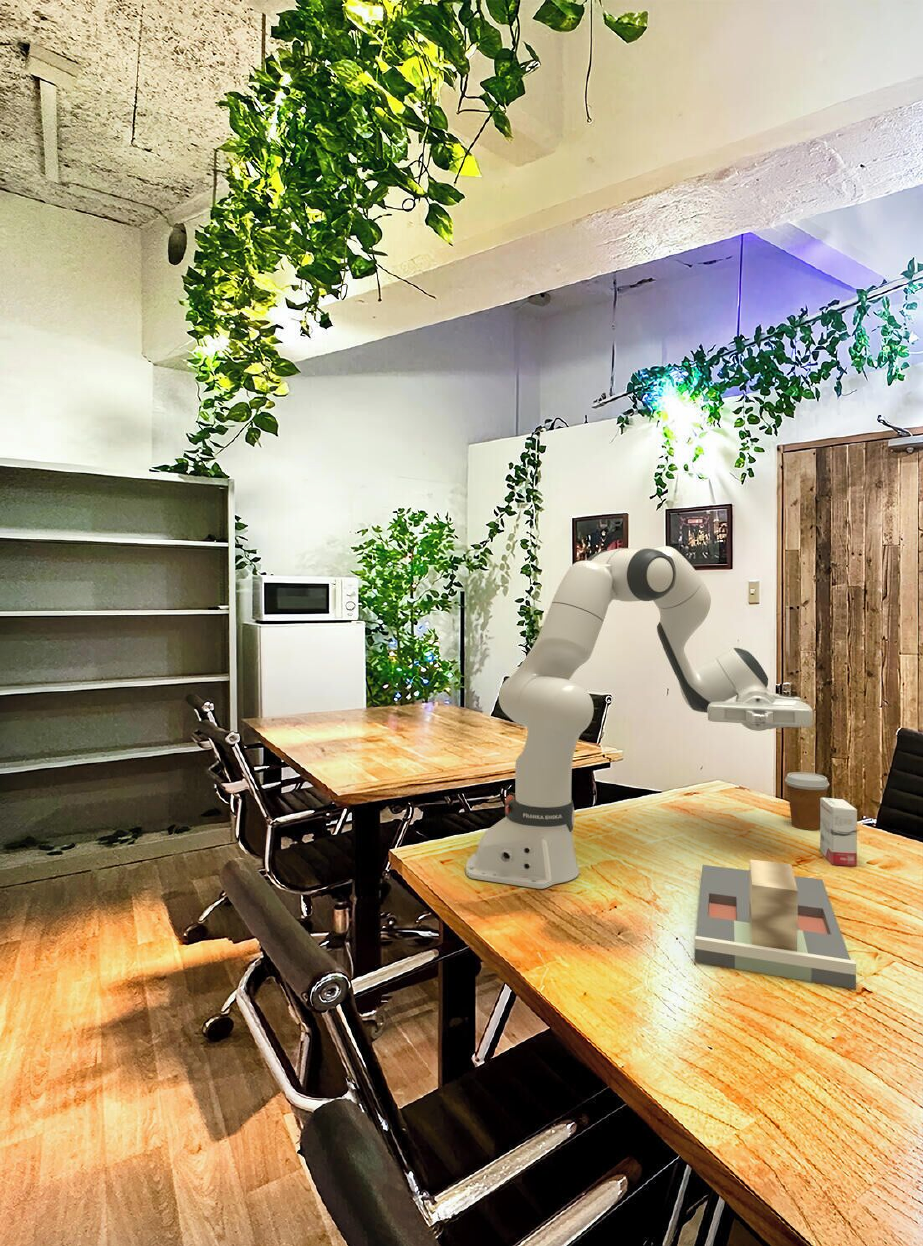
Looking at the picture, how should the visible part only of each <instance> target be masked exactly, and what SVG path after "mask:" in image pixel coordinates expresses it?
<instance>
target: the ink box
mask: <svg viewBox="0 0 923 1246" xmlns="http://www.w3.org/2000/svg"><path fill="white" fill-rule="evenodd" d="M819 831H820V832H819V841H820V842H819V845H820V846H819V851H820V853H821V854H822V855H823V856H824V857H825V858H826V859H827V860H828V862H829V863H830V864H831V865H833V866H848V867H849V866H850V867H857V863H858V852H857V851H858V850H857V849H858V847H857V846H858V842H857V840H858V809H857V808H855V806H852V804H850V803H849V802H847V801H846V800H845V799H840V798H832V797H831V798H830V797H826V798H820V829H819Z"/></svg>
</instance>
